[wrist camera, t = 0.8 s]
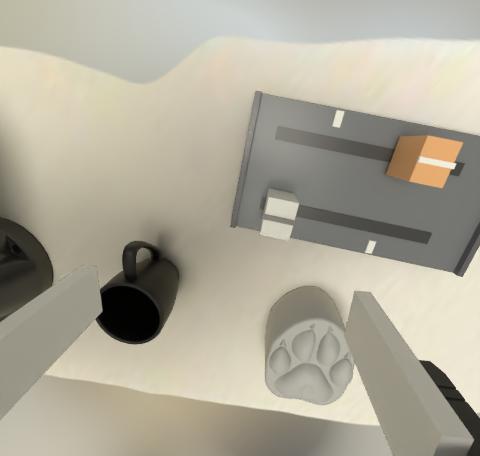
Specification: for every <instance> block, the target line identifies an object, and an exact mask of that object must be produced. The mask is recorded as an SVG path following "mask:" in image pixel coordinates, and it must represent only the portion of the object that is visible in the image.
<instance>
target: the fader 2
mask: <svg viewBox="0 0 480 456" xmlns="http://www.w3.org/2000/svg"><path fill="white" fill-rule="evenodd" d="M462 145H463V142H459V141H454V140H449V139H444V138H439V137H434V136H429V135H423V136H400V138H399V140H398V143H397V146H396V148H395V151H394V154H393V156H392V159H391V162H390V164H389V167H388V170H387V172H386V175H388V176H392V177H395V178H399V179H402V180H406V181H409V182H414V183H419V184H423V185H428V186H433V187H438V188H443V186H444V184H445V182H446V180H447V177H448V175H449V173H450V171H451V169H454V168H455V166H456V163H454V162H455V160H456V158H457V155H458V153H459V151H460V149H461V147H462Z"/></svg>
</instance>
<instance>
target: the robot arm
mask: <svg viewBox="0 0 480 456" xmlns="http://www.w3.org/2000/svg"><path fill="white" fill-rule="evenodd" d="M52 278H53V277H52V268H51V264H50V261H49V259H48V256H47V254H46V253H45V251H44V249H43V248H42V246H41V245H40V244H39V242H38V241H37V240H36V239H35V238H34V237H33V236H32V235H31V234H30V233H29V232H27V231H26V230H25V229H23V228H22V227H20V226H19V225H17V224H15V223H13V222H11V221H9V220H6V219H3V218H0V420H1V419H2V418H3V417H4V416H5V415H6V413H7V412H8V411H9V410H10V409H11V408H12V407H13V406H14V405H15V404H16V403H17V402H18V401H19V400H20V399H21V398H22V396H23V395H24V394H25V393H26V392H27V391H28V390H29V389H30V388H31V387H32V386H33V385H34V384H35V383H36V382H37V380H38V379H39V378H40V377H41V376H42V375H43V374H44V373H45V372H46V371H47V370H48V369H49V368H50V367H51V366H52V365H53V363H54V362H55V361H56V360H57V359H58V358H59V357H60V356H61V355H62V354H63V353H64V352H65V351H66V350H67V349H68V347H69V346H70V345H71V344H72V343H73V342H74V341H75V340H76V339H77V338H78V337H79V336H80V335H81V334H82V333H83V331H84V330H85V329H86V328H87V327H88V326H89V325H90V324H91V323H92V322H93V321H94V320H95V319H96V318H97V317H98V315H99V314H100V313H101V312H102V311H103V310H102V303H101V295H100V288H99V280H98V273H97V266H86V265H82V266H81V267H79V268H78V269H76V270H75V271H73V272H72V273H70V274H69V275H68V276H66V277H65V278H63V279H62V280H60V281H59V282H57V283H56V284H55V285H53V286H52V287H51V285H52ZM344 337H345V340H346V342H347V345H348V347H349V350H350V352H351V355H352V357H353V359H354V362H355V364H356V367H357V369H358V372H359V374H360V376H361V379H362V381H363V384H364V386H365V389H366V391H367V394H368V396H369V398H370V401H371V403H372V406H373V408H374V411H375V413H376V415H377V418H378V420H379V423H380V425H381V428H382V430H383V432H384V435H385V437H386V440H387V442H388V444H389V447H390V450H391V452H392V454H393V456H480V418H479V417H478V416H477V414H476V413H475V412H474V410H473V409H472V408H471V407H470V405H469V404H468V403H467V402H465V399H464V397H463V396H462V395H461V394H460V392H459V391H458V390H456V387H455V386H454V385H453V383H452V382H451V381H450V379H449V378H448V377H447V376H446V374H445V373H444V372H442V371H441V370H440V369H439V368H438V367H436V366H435V365H434V364H433V363H432V362H430V361H422V360H418V359H417V357H416V356H415V355H414V353H413V352H412V350H411V349H410V348H409V346H408V345H407V343H406V342H405V340H404V339H403V338H402V336H401V335H400V333H399V332H398V330H397V329H396V328H395V326H394V325H393V323H392V322H391V321H390V319H389V318H388V316H387V315H386V313H385V312H384V311H383V309H382V308H381V306H380V305H379V303H378V302H377V301H376V299H375V298H374V296H373V295H372V294H371V292H363V291H354V295H353V300H352V304H351V308H350V313H349V317H348V321H347V326H346V330H345V334H344Z"/></svg>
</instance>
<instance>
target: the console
mask: <svg viewBox="0 0 480 456" xmlns="http://www.w3.org/2000/svg"><path fill="white" fill-rule="evenodd" d="M423 135H429V136H434V137H439V138H444V139H449V140H454V141H459V142H463V145H462V147H461V149H460V151H459V153H458V155H457V158H456V160H455V162H454V163H456V166H455V168H454V169H451V171H450V173H449V175H448V177H447V180H446V182H445V184H444V186H443V188H438V187H433V186H428V185H423V184H419V183H414V182H409V181H406V180H402V179H399V178H395V177H392V176H388V175H386V172H387V170H388V167H389V164H390V162H391V159H392V156H393V154H394V151H395V148H396V146H397V143H398V140H399V138H400V136H423ZM268 188H271V189H276V190H281V191H285V192H290V193H294V194H295V196H296V198H297V200H298V202H299V206H298V210H297V213H296V217H295V224H294V226H293V228H292V232H291V235H290V238H295V239H299V240H304V241H309V242H313V243H318V244H323V245H327V246H332V247H337V248H341V249H346V250H351V251H355V252H360V253H365V254H369V255H374V256H379V257H383V258H388V259H393V260H397V261H402V262H406V263H411V264H416V265H420V266H425V267H430V268H434V269H439V270H444V271H448V272H453V273H454V274H456V275H457V276H461V277H463V275H464V273H465V272H466V270H467V268H468V266H469V264H470V262H471V260H472V259H473V257H474V255H475V253H476V251H477V249H478V248H479V246H480V136H477V135H471V134H466V133H461V132H456V131H451V130H446V129H441V128H436V127H431V126H426V125H421V124H416V123H410V122H405V121H400V120H395V119H390V118H385V117H380V116H375V115H370V114H365V113H360V112H355V111H349V110H344V109H339V108H334V107H329V106H324V105H319V104H314V103H309V102H304V101H299V100H294V99H288V98H283V97H278V96H273V95H268V94H263V93H262V92H259V91H256V92H255V98H254V103H253V108H252V114H251V119H250V124H249V129H248V135H247V140H246V145H245V151H244V156H243V161H242V166H241V172H240V177H239V182H238V188H237V193H236V198H235V204H234V209H233V214H232V219H231V225H230V227H233V228H235V226H239V227H244V228H248V229H253V230H258V231H260V228H261V219H262V215H263V210H264V206H265V202H266V197H267V193H268Z"/></svg>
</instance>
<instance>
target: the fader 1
mask: <svg viewBox="0 0 480 456" xmlns="http://www.w3.org/2000/svg"><path fill="white" fill-rule="evenodd" d="M298 206H299V202H298V200H297V198H296V196H295V194H294V193H290V192H285V191H281V190H276V189H271V188H268V193H267V197H266V202H265V206H264V210H263V215H262V219H261V228H260V235H263V236H268V237H272V238H277V239H282V240H286V241H289V239H290V235H291V232H292V228H293V226H294V224H295V217H296V213H297V210H298Z"/></svg>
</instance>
